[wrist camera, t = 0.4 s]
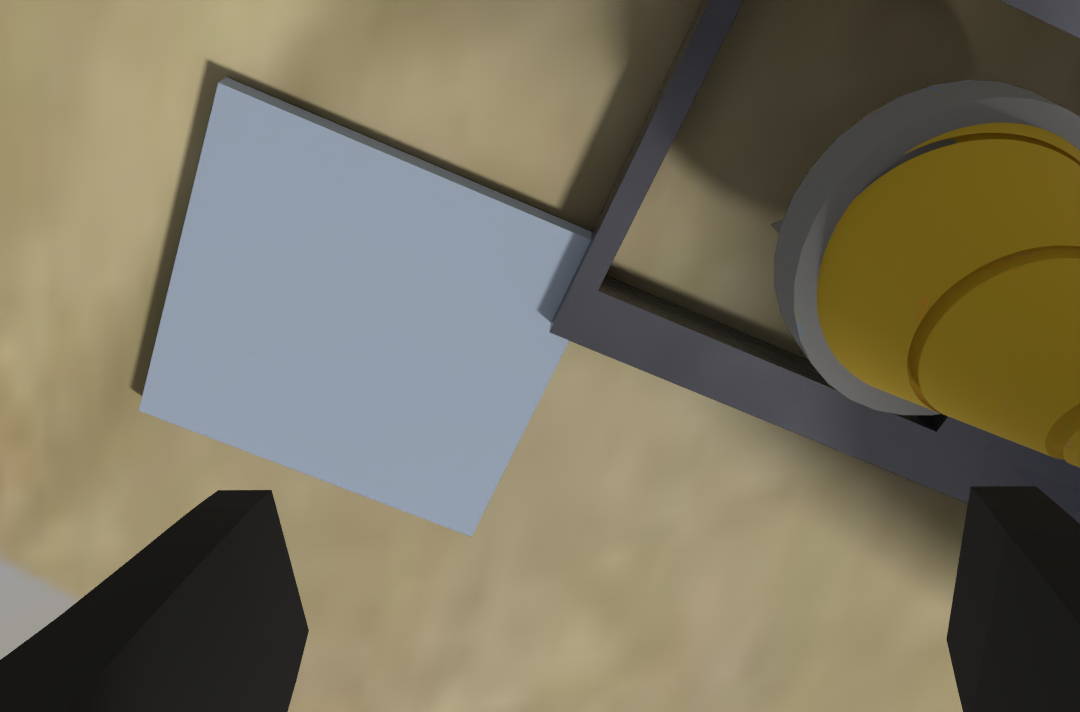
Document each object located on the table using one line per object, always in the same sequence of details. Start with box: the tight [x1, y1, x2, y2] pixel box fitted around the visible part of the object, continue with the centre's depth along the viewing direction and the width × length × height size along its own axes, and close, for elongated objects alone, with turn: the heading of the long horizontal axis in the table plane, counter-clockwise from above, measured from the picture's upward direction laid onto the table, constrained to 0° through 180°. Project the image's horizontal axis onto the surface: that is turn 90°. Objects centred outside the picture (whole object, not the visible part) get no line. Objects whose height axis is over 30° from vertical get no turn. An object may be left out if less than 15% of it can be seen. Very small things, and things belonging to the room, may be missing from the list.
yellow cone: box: [771, 80, 1080, 468], centre depth 14 cm, size 5×5×10 cm
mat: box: [139, 77, 592, 537], centre depth 21 cm, size 8×8×1 cm
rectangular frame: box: [549, 0, 1080, 524], centre depth 19 cm, size 14×10×1 cm
